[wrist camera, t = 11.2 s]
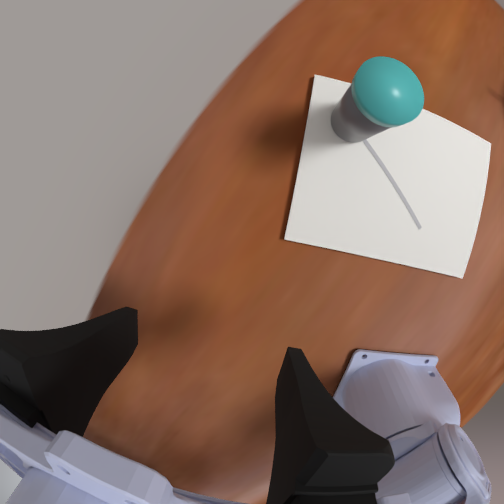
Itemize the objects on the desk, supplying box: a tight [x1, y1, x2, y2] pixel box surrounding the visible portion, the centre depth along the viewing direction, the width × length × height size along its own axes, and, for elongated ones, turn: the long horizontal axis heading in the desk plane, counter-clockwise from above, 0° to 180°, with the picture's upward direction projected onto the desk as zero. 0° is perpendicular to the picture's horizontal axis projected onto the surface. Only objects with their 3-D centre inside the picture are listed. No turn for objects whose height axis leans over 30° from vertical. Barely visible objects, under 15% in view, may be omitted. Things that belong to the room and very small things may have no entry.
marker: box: [331, 57, 424, 143], centre depth 13 cm, size 3×3×8 cm
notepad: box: [284, 75, 491, 278], centre depth 18 cm, size 16×12×1 cm
